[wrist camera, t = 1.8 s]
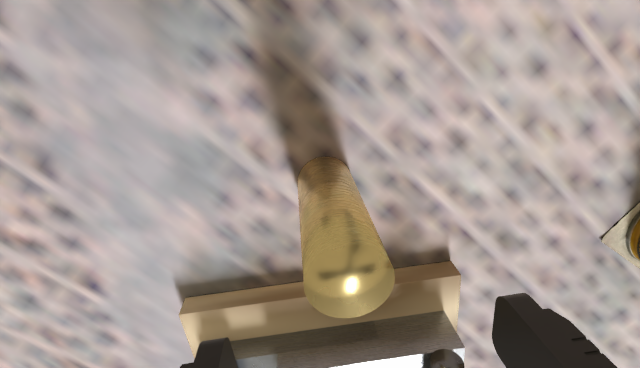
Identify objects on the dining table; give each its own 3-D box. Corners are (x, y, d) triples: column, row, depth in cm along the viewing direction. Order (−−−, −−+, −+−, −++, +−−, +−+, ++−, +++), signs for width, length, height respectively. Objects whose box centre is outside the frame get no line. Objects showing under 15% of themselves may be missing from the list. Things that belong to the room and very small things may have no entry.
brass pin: (294, 160, 19) (298, 251, 11) (349, 153, 19) (394, 238, 11) (301, 209, 21) (309, 323, 12) (353, 202, 21) (395, 311, 13)
